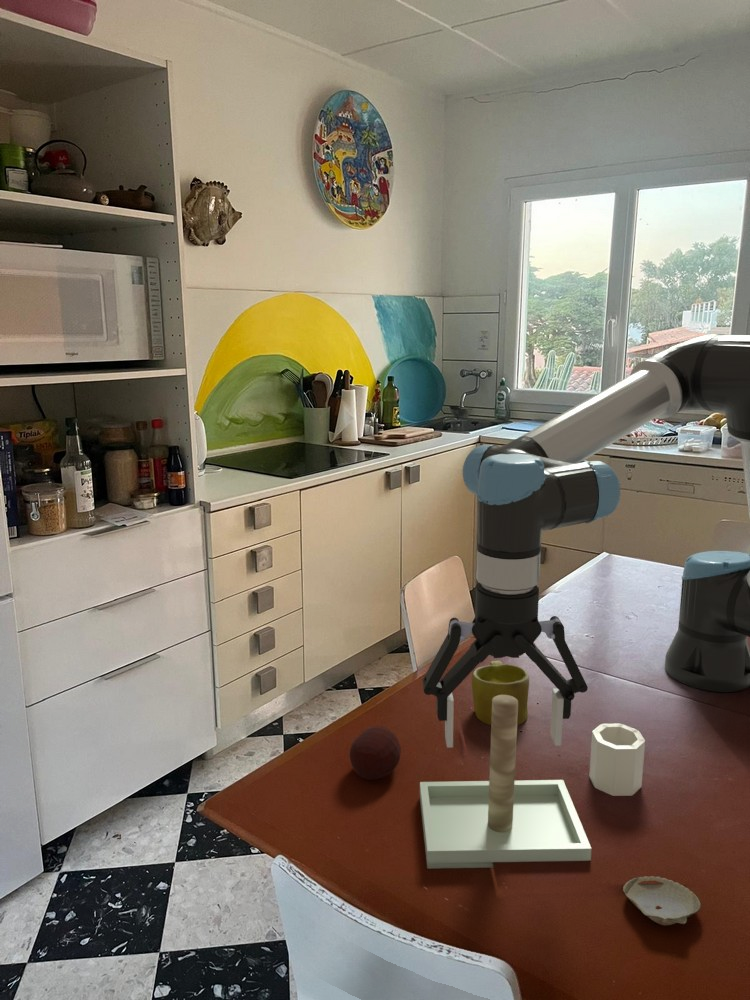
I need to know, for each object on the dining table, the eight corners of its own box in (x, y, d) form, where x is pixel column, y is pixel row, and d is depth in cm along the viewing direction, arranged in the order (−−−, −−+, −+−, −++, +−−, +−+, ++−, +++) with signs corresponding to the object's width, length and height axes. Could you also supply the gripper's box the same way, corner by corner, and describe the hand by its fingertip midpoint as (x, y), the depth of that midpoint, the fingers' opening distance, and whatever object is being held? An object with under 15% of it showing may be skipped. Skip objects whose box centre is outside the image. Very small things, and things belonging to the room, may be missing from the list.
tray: (562, 795, 108) (563, 779, 107) (590, 865, 94) (591, 848, 93) (419, 797, 107) (419, 781, 107) (427, 868, 94) (427, 851, 93)
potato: (340, 784, 111) (339, 746, 109) (365, 747, 120) (365, 711, 119) (388, 794, 108) (388, 755, 107) (410, 755, 118) (410, 719, 116)
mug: (538, 729, 121) (521, 667, 121) (476, 740, 124) (459, 680, 124) (542, 705, 133) (527, 649, 133) (485, 716, 136) (470, 661, 136)
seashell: (691, 909, 90) (622, 876, 92) (700, 886, 89) (631, 854, 92) (692, 952, 82) (618, 915, 85) (702, 927, 82) (627, 891, 84)
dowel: (510, 815, 102) (515, 694, 97) (514, 832, 99) (520, 707, 94) (486, 816, 102) (490, 694, 97) (489, 832, 99) (494, 708, 94)
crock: (630, 772, 113) (634, 723, 111) (645, 800, 106) (650, 748, 104) (585, 772, 113) (588, 723, 111) (598, 800, 106) (601, 749, 104)
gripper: (601, 571, 96) (591, 723, 101) (402, 574, 96) (402, 726, 101) (620, 593, 89) (609, 756, 94) (405, 596, 89) (405, 759, 94)
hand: (502, 741), depth 98 cm, fingers open, 13 cm apart
